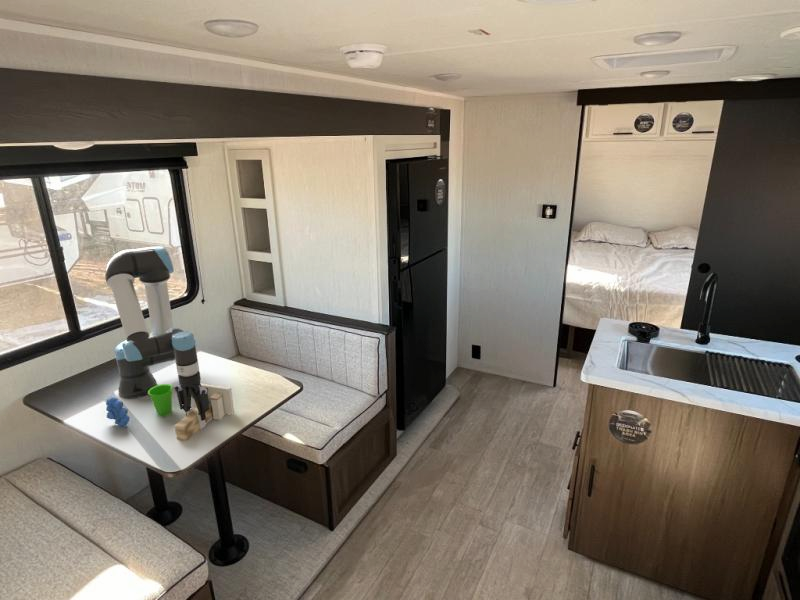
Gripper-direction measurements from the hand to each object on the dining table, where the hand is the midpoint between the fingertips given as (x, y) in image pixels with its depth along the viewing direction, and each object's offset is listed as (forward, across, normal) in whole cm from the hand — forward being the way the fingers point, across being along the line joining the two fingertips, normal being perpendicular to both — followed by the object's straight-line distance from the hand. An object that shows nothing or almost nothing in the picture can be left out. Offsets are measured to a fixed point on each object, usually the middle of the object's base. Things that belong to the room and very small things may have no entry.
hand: (197, 425), depth 180 cm
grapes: (0, -30, -8) cm, 31 cm away
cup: (0, -19, +5) cm, 20 cm away
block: (0, 0, 0) cm, 0 cm away
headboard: (0, 0, +9) cm, 9 cm away
